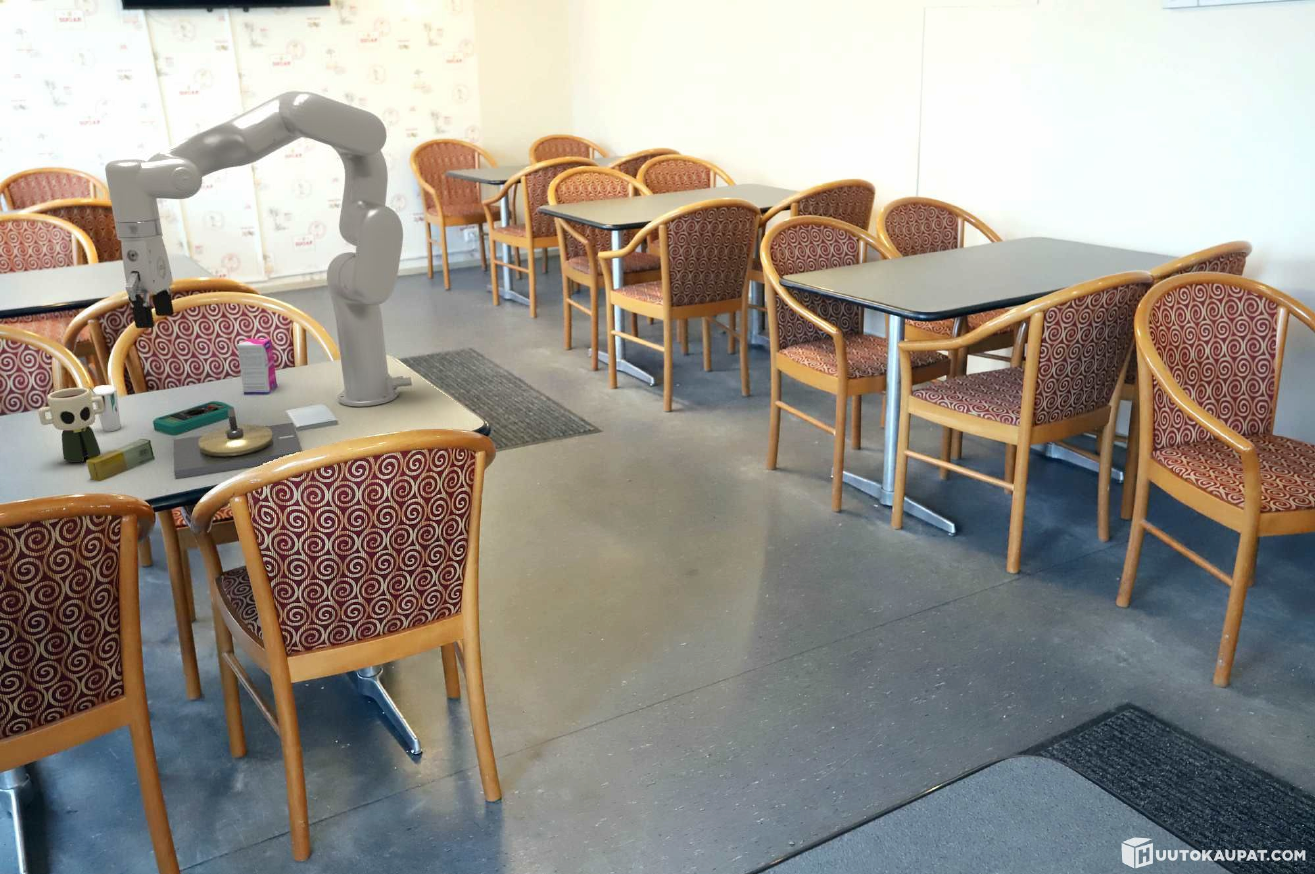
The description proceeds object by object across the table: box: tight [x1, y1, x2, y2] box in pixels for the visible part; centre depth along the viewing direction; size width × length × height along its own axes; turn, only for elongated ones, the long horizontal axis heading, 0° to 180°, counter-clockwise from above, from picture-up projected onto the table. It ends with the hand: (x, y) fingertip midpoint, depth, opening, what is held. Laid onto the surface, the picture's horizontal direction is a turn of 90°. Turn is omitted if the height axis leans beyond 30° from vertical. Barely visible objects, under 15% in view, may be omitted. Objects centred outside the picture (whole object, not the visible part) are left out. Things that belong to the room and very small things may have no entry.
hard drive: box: [284, 403, 339, 433], centre depth 219 cm, size 2×8×12 cm
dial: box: [198, 408, 273, 456], centre depth 200 cm, size 13×13×5 cm
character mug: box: [38, 387, 105, 463], centre depth 198 cm, size 11×7×13 cm, turn 131°
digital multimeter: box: [152, 400, 235, 436], centre depth 218 cm, size 7×15×3 cm, turn 146°
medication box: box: [86, 438, 156, 482], centre depth 194 cm, size 12×3×4 cm, turn 155°
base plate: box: [173, 422, 303, 480], centre depth 201 cm, size 22×18×2 cm
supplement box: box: [236, 338, 278, 396], centre depth 236 cm, size 6×6×12 cm
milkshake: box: [88, 384, 122, 433], centre depth 213 cm, size 4×5×10 cm
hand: (155, 321), depth 199 cm, fingers open, 9 cm apart
